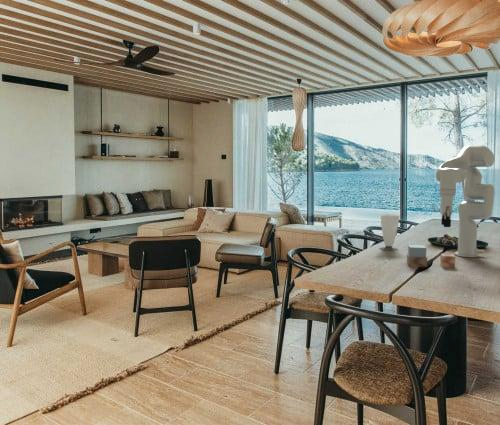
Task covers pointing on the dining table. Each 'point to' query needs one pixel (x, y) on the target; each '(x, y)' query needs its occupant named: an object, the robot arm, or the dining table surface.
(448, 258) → the terracotta cube
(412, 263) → the tower base
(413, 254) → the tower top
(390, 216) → the cup
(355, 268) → the dining table surface
